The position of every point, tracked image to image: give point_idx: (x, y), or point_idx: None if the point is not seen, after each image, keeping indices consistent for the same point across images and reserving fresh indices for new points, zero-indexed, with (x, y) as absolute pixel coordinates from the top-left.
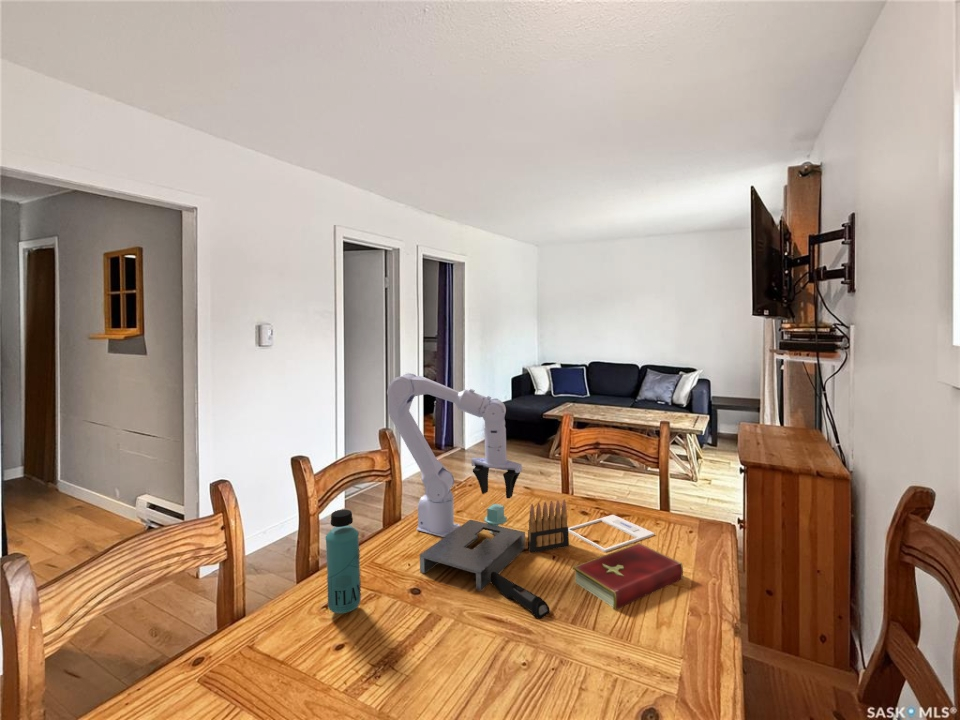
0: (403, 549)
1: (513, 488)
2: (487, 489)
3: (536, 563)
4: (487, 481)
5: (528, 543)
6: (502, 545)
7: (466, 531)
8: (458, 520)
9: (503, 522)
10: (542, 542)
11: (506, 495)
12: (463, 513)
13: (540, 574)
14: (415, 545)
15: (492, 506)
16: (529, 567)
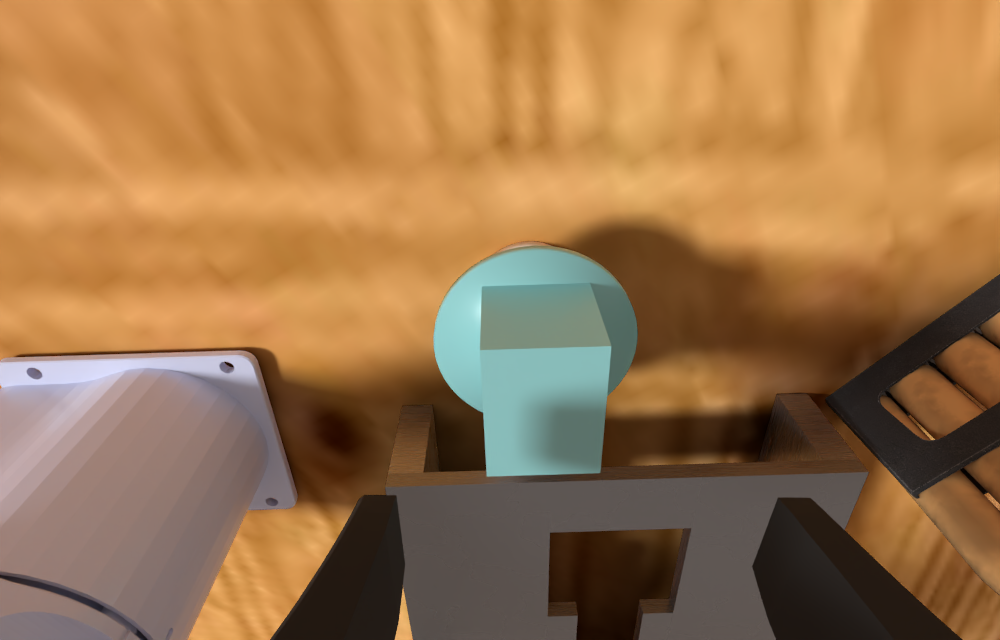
0: (238, 634)
1: (906, 602)
2: (392, 530)
3: (898, 487)
4: (351, 636)
5: (854, 424)
6: (762, 632)
7: (483, 606)
8: (145, 263)
9: (628, 366)
10: (955, 381)
11: (774, 615)
12: (36, 108)
13: (927, 546)
14: (247, 596)
15: (505, 417)
16: (866, 525)
